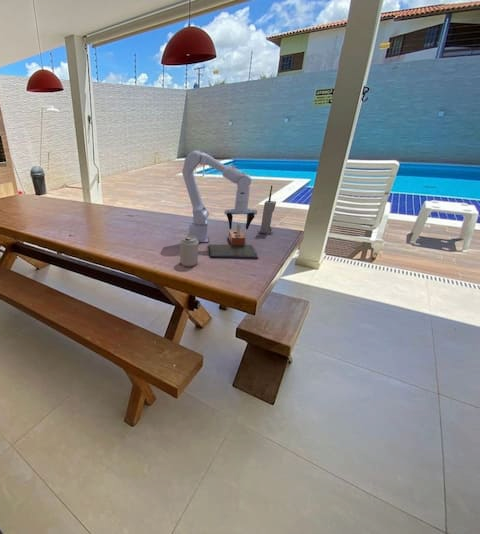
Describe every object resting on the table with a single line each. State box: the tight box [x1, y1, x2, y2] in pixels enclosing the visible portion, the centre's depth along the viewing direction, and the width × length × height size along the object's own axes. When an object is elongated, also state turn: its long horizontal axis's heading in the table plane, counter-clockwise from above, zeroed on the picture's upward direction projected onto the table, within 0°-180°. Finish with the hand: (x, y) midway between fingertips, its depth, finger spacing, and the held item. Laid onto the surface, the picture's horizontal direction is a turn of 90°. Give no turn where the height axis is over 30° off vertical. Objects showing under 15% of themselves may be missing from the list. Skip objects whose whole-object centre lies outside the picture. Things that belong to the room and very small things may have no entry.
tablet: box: [208, 243, 259, 260], centre depth 143 cm, size 20×14×1 cm
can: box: [179, 235, 200, 267], centre depth 132 cm, size 8×8×12 cm
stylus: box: [236, 222, 242, 237], centre depth 151 cm, size 2×2×10 cm
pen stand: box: [228, 230, 246, 245], centre depth 154 cm, size 6×11×4 cm, turn 169°
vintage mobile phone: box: [259, 184, 277, 235], centre depth 159 cm, size 4×5×25 cm
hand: (238, 228), depth 150 cm, fingers open, 7 cm apart
